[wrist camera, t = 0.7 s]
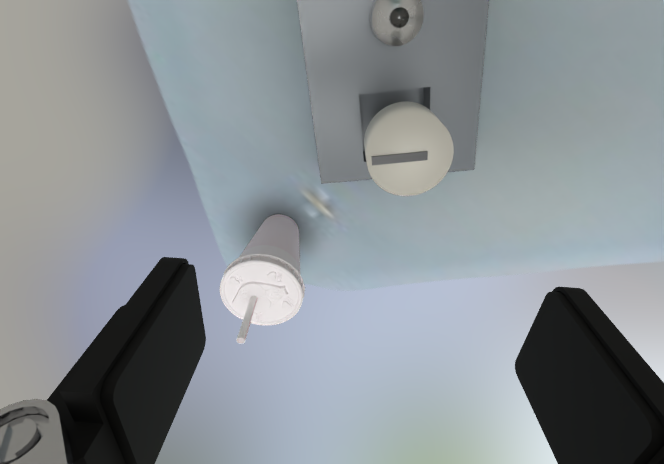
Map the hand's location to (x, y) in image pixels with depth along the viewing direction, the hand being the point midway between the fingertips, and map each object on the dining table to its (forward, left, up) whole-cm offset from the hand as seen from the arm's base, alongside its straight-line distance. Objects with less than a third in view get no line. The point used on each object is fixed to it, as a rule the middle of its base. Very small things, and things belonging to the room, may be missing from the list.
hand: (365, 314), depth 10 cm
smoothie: (+8, +10, -24) cm, 27 cm away
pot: (-3, -7, -20) cm, 21 cm away
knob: (-3, 0, -19) cm, 19 cm away
